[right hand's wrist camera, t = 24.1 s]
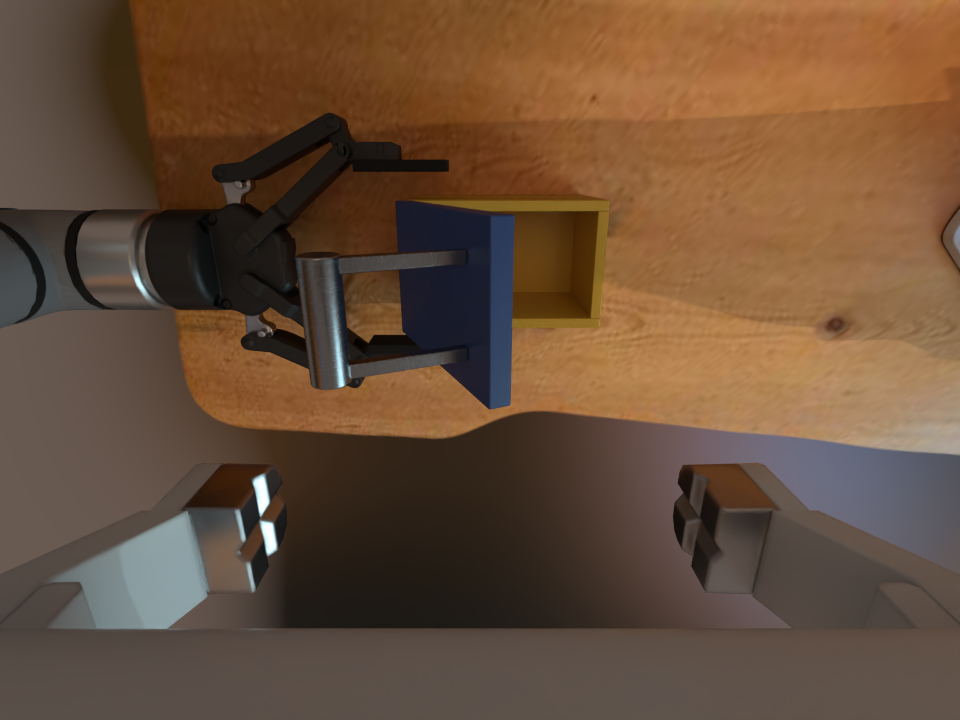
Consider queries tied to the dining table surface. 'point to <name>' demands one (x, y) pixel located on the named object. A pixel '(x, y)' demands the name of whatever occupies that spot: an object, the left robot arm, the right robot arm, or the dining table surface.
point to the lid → (424, 300)
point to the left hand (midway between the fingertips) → (450, 260)
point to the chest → (550, 255)
